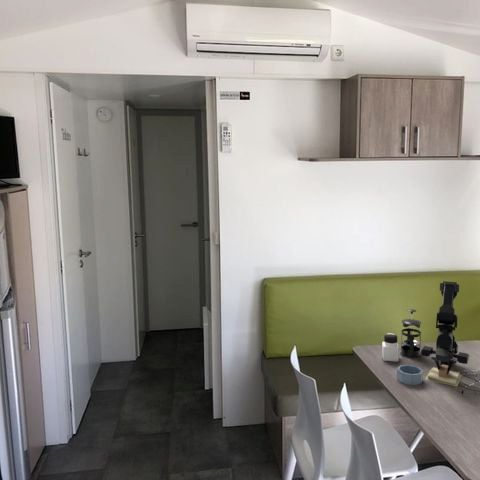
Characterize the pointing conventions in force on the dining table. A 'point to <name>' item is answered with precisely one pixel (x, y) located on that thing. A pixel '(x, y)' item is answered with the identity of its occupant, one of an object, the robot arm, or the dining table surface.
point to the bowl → (410, 374)
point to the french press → (410, 338)
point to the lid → (443, 375)
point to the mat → (445, 382)
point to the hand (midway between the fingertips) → (443, 373)
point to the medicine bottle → (390, 348)
